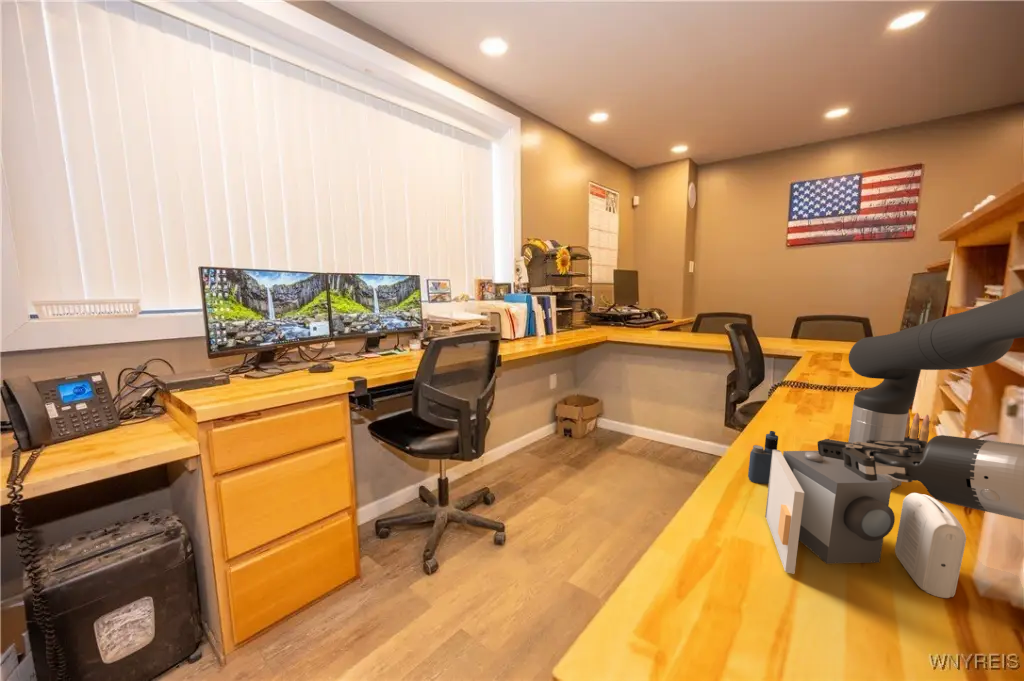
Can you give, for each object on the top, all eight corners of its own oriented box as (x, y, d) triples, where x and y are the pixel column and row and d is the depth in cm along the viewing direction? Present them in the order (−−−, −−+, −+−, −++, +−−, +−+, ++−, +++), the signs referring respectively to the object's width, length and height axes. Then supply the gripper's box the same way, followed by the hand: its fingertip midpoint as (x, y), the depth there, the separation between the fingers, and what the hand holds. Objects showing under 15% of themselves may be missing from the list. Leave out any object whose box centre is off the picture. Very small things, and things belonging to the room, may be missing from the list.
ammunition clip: (870, 447, 112) (876, 406, 110) (871, 446, 113) (877, 404, 111) (924, 461, 104) (932, 416, 102) (925, 459, 105) (932, 414, 103)
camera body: (821, 519, 78) (830, 446, 76) (893, 572, 64) (907, 485, 62) (775, 520, 78) (783, 447, 75) (837, 573, 63) (850, 485, 61)
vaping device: (775, 485, 91) (781, 434, 89) (750, 482, 92) (755, 432, 90) (770, 479, 93) (776, 430, 92) (746, 477, 94) (750, 428, 93)
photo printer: (960, 603, 58) (975, 523, 56) (920, 593, 59) (934, 516, 58) (923, 558, 67) (935, 489, 65) (889, 551, 69) (900, 483, 67)
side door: (772, 516, 78) (780, 450, 76) (795, 574, 63) (805, 493, 60) (761, 514, 79) (768, 448, 77) (779, 570, 63) (789, 490, 61)
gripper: (1020, 431, 45) (845, 414, 61) (959, 454, 40) (787, 429, 57) (1029, 498, 45) (852, 463, 61) (969, 529, 40) (793, 482, 56)
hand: (821, 446), depth 59 cm, fingers closed
